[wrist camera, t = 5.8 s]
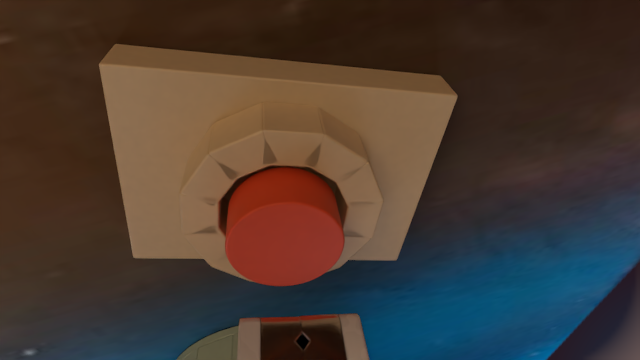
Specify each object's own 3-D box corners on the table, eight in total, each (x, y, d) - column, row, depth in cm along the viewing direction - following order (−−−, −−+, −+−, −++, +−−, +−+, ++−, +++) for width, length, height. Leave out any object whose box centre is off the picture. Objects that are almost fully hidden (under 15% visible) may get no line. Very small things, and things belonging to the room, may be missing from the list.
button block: (142, 228, 17) (120, 296, 15) (114, 42, 13) (75, 90, 10) (387, 234, 19) (408, 294, 17) (440, 74, 15) (482, 122, 12)
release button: (227, 247, 14) (224, 287, 13) (228, 163, 12) (225, 200, 11) (327, 248, 15) (334, 286, 14) (344, 169, 13) (355, 204, 12)
